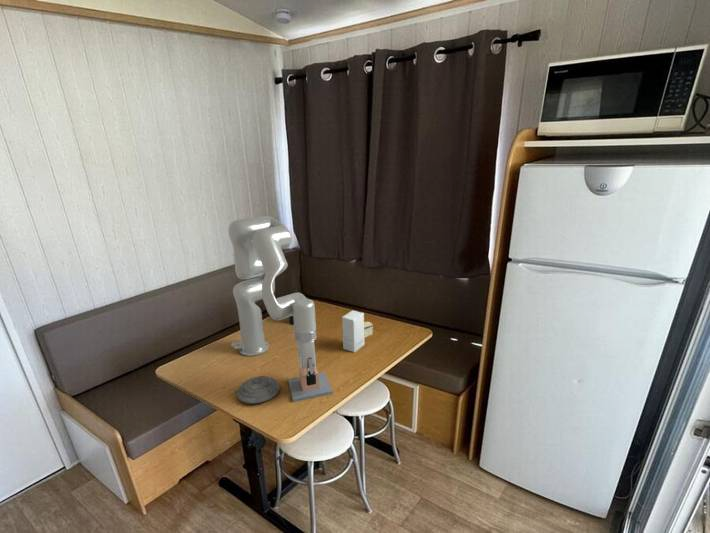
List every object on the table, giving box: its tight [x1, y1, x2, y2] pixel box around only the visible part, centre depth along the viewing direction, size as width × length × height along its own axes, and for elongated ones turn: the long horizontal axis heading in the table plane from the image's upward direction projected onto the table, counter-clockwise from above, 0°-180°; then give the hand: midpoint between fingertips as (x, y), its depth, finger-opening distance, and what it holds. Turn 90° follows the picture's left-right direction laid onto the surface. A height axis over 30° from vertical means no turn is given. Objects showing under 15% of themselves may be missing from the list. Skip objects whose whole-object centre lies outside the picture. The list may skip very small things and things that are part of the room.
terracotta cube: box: [298, 366, 319, 391], centre depth 135 cm, size 6×6×6 cm
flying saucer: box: [236, 375, 281, 405], centre depth 133 cm, size 15×15×6 cm
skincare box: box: [341, 310, 366, 353], centre depth 162 cm, size 8×7×16 cm
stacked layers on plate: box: [364, 321, 374, 339], centre depth 175 cm, size 10×9×6 cm
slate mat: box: [287, 371, 333, 403], centre depth 136 cm, size 14×13×1 cm
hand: (309, 377), depth 135 cm, fingers open, 9 cm apart
